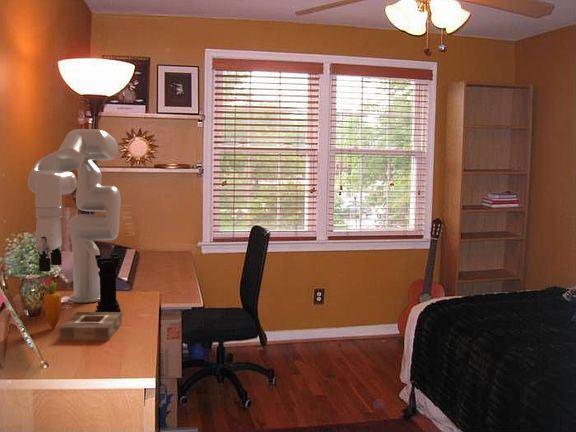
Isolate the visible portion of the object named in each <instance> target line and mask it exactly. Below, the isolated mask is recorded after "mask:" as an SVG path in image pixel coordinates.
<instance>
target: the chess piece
mask: <svg viewBox="0 0 576 432" xmlns="http://www.w3.org/2000/svg"><path fill="white" fill-rule="evenodd" d="M95 259H96V260H97V266H98V268H99V269H100V271H99V272H98V274H99V277H100V301H97V305H96V307H95V308H96V309H94V312H121V316H122V317H123V312H122V311H121V307H120V303H119V300H118V299H117V280H116V279H117V277H118V273H117V271H116V269H117V268H118V267H119V262H120V256H118V254H117V253H112V255H111V257H103V258H102V257H101V254H100V255H95Z"/></svg>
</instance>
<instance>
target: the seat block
mask: <svg viewBox="0 0 576 432" xmlns="http://www.w3.org/2000/svg"><path fill="white" fill-rule="evenodd" d="M121 313H122V311H121V312H95V311H87V312H86V311H76V312H75V314H74V315H72V316H71V317H70V318H69V319H68V320H67V321H66V322H64V323H63V324H62V325H61V326H60V329H59V330H60V333H59V334H60V341H70V342H71V341H72V342H73V341H89V342H90V341H94V342H95V341H103V342H105V341H106V342H107V341H110V340H111V338H112V337H113V336H114V335H115V334H116V332H117V331H118V330H119V329H120V327H121V326H122V325H123V323H122V322H123V321H122V320H123V319H122V317H123V315H122V316H121Z"/></svg>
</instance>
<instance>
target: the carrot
mask: <svg viewBox="0 0 576 432" xmlns="http://www.w3.org/2000/svg"><path fill="white" fill-rule="evenodd" d="M57 285H58V283H55V282H54V280H51V281H50V284H49V287H48V285H44V286H43V288H45V289H46V290H47V291H48V292H47V293H46V294H45V295H44V297H43V303H44V311H45V312H44V313H45V316H46V320H47V322H48V324H49V326H50V328H51V329H55V328H56V326H57V325H58V322H59V319H60V314H61V308H62V307H61V305H62V298H61V294H60V293H59V292H56V288H57Z"/></svg>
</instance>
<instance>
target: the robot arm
mask: <svg viewBox="0 0 576 432" xmlns="http://www.w3.org/2000/svg"><path fill="white" fill-rule="evenodd" d="M118 146H119V145H118V144H117V141H116V139H115V138H114V137H113V136H112V135H110V133H108V132H107V131H105V130H103V129H97V128H96V129H94V128H93V129H88V128H87V129H85V128H84V129H83V128H74V129H72V130H70V131H69V132H68V133H67V134H66V135H65V138H64V140H63V141H62V143H61V145H60V147H59V149H58V150H55V151H54V152H52V153H50V154H49V153H48V155H46V156H43V157H41V158H40V159H39V160H38V161H36V163H35V164H34V165H33V167H32V169H31V171H30V173H29V176H28V178H27V187H28V189H29V191H30V192H31V193H34V194H35V195H34V196H35V197H34V198H35V199H34V201H35V218H36V223H35V224H36V226H35V250H36V251H37V254H38V271H39V272H41V273H43V272H44V273H45V272H46V273H47V272H48V273H49V272H51V271H52V270H51V268H52V267H51V266H62V265H63V263H62V262H63V259H62V258H63V256H62V245H63V243H62V242H63V241H62V240H63V238H62V237H63V231H62V222H61V218H63V196H62V195H70V194H72V193H73V192H74V191H75V190H76V191H75V192H76V194H75V205H76V208H77V209H78V210H80V211H83V212H104V213H103V214H100V213H99V214H98V213H97V214H95V213H79V214H76V215H73V216H72V217H71V218H70V220H69V222H68V230H69V235H70V239H71V249H72V275H73V278H72V280H73V281H72V282H73V283H72V285H73V294H71V295H69V297H68V298H69V301H70V302H72V303H75V304H76V303H77V304H79V303H80V304H89V303H94V302H96V303H98V301H100V277H99V274H98V272H99V271H100V269H99V268H98V266H97V260H96V259H95V255H100V256H101V253H100V252H101V251H100V249H99V247H98V246H97V244H96V243H95V241H114V240H116V239H117V238H118V236H119V232H120V220H121V219H120V218H121V206H122V205H121V203H122V199H121V197H122V196H121V191H120V190H119V188H118V187H116V186H114V185H113V186H112V185H102V177H103V175H102V172H101V170H100V169H99V167H98V165H96V163H95V161H112V160H115V159H116V158H117V156H118V153H119V151H118V150H119V148H118ZM74 170H76V172H77V177H76V175H75V174H74V173H73V172H71V171H74Z"/></svg>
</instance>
